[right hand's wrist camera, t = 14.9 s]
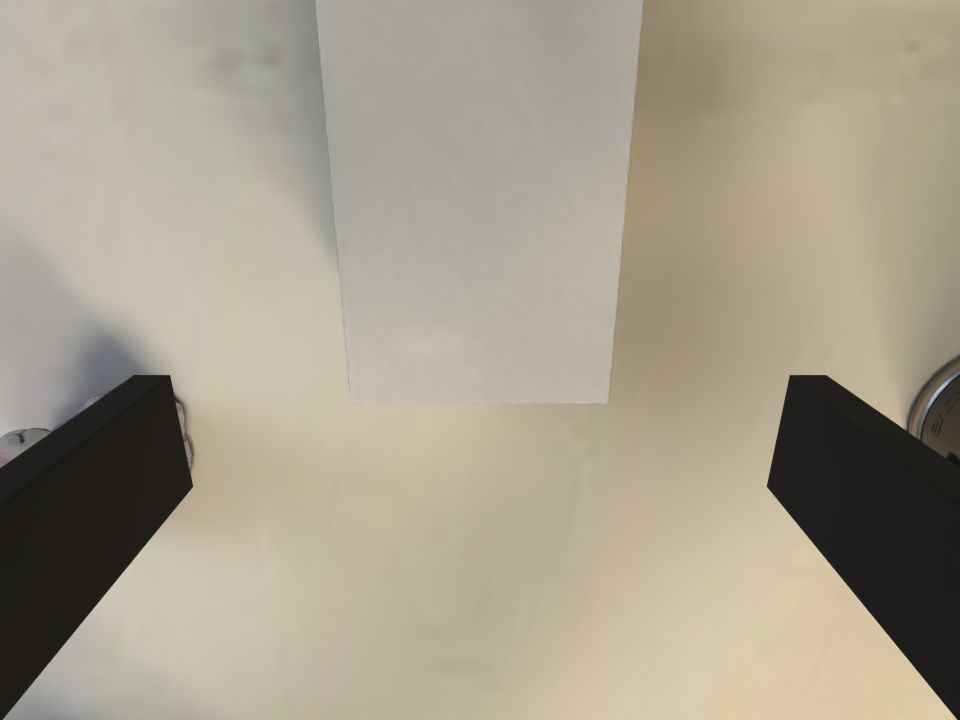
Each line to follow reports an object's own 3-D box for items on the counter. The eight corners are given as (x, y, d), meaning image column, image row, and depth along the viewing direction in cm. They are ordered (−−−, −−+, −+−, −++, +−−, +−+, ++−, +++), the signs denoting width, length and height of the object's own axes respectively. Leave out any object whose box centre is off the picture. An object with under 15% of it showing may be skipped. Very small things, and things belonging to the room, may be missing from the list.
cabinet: (362, -6, 28) (307, -73, 19) (596, -6, 28) (650, -73, 19) (384, 334, 34) (350, 404, 25) (575, 334, 34) (608, 404, 25)
